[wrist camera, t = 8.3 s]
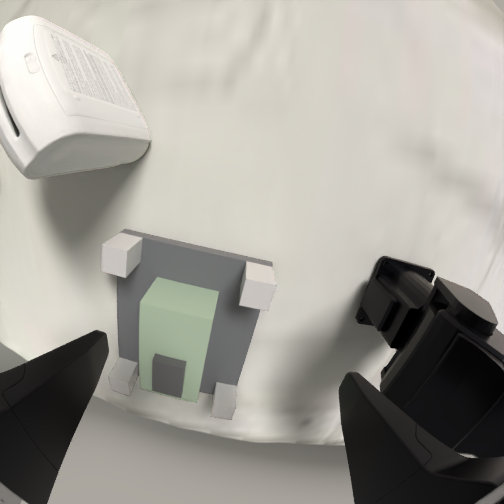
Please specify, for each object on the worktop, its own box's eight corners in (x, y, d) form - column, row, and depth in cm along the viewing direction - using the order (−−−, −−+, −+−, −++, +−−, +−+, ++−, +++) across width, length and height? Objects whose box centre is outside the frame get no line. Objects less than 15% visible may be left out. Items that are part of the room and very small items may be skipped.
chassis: (271, 261, 21) (276, 285, 18) (233, 391, 26) (231, 419, 23) (125, 228, 20) (101, 244, 17) (123, 364, 25) (110, 389, 22)
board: (219, 291, 21) (211, 327, 17) (202, 371, 24) (195, 409, 20) (157, 276, 21) (135, 308, 16) (151, 359, 24) (137, 394, 19)
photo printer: (72, 80, 16) (-34, 55, 4) (111, 48, 15) (15, -7, 4) (118, 174, 19) (-1, 207, 7) (162, 143, 18) (56, 138, 7)
